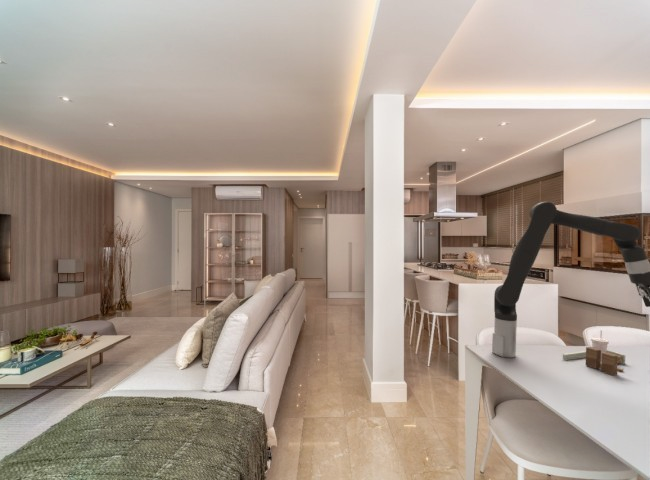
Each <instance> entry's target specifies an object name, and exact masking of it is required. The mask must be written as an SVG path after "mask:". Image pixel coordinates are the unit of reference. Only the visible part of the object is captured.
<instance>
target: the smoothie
mask: <svg viewBox="0 0 650 480" xmlns="http://www.w3.org/2000/svg"><path fill="white" fill-rule="evenodd" d="M599 333H600V336H599V337H593V336H592V337H590V341H591V347H594V348H597V349H600V350H601V362H602V353H604V352H606V350H608V346H609V345H608V344H610V342H609V340H607V339H605V338H603V330H602V329H600V331H599Z"/></svg>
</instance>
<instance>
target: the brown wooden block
mask: <svg viewBox="0 0 650 480" xmlns="http://www.w3.org/2000/svg"><path fill="white" fill-rule="evenodd" d="M600 369H601V370H600V371H601V372H602V373H604V374H607V375H610V376H617V375H618V372H620V373H623V372H624V368H621V367H619V365H618V356H617V355H614V354H611V353H608V352H604V353H602V363H601V368H600Z"/></svg>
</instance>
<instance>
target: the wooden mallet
mask: <svg viewBox="0 0 650 480" xmlns="http://www.w3.org/2000/svg"><path fill="white" fill-rule="evenodd" d="M585 351H586V357H585V366H588V367H589V368H593V369H597V370H598V369H601V363H602V362H601V350H600V349H597V348H594V347H592V346H587V347H585ZM608 353H609V352H608ZM611 354H612V353H611ZM614 355H615V354H614ZM617 356H618V355H617ZM618 364H622V356H618Z"/></svg>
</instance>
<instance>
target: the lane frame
mask: <svg viewBox="0 0 650 480" xmlns="http://www.w3.org/2000/svg"><path fill="white" fill-rule="evenodd" d="M606 352H609V353H612V354H615V355H618V356H622V363H621V364H623V365H625V364H626V355H625V354H623V353H620V352H617V351H612V350H609V349H607V350H606ZM583 358H586V350H584V351H577V352H576V351H575V352H569V353H563V354H562V360H563V361H567V360H569V361H570V360H574V359H575V360H576V359H583Z"/></svg>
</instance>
